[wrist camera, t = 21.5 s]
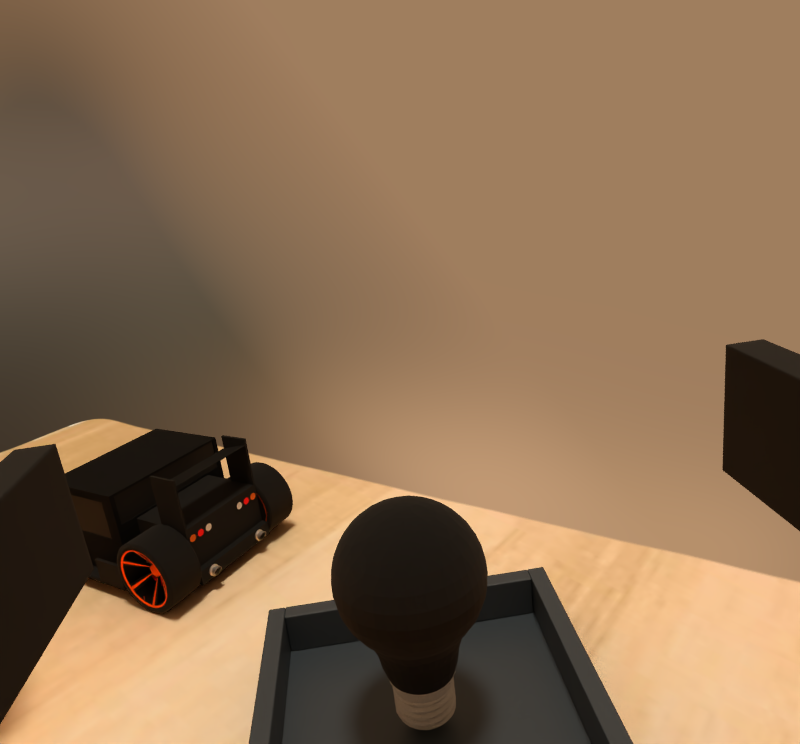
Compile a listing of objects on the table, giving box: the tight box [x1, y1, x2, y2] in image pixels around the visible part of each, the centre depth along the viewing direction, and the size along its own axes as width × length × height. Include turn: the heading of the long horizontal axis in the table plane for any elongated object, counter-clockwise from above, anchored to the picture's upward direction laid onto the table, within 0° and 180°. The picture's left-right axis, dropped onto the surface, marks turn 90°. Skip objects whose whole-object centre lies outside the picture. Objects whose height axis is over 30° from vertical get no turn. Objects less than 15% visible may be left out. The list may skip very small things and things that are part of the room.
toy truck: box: [65, 429, 293, 613], centre depth 45 cm, size 10×20×7 cm, turn 60°
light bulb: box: [331, 496, 488, 730], centre depth 26 cm, size 6×6×10 cm
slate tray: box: [249, 567, 633, 744], centre depth 27 cm, size 14×13×3 cm
